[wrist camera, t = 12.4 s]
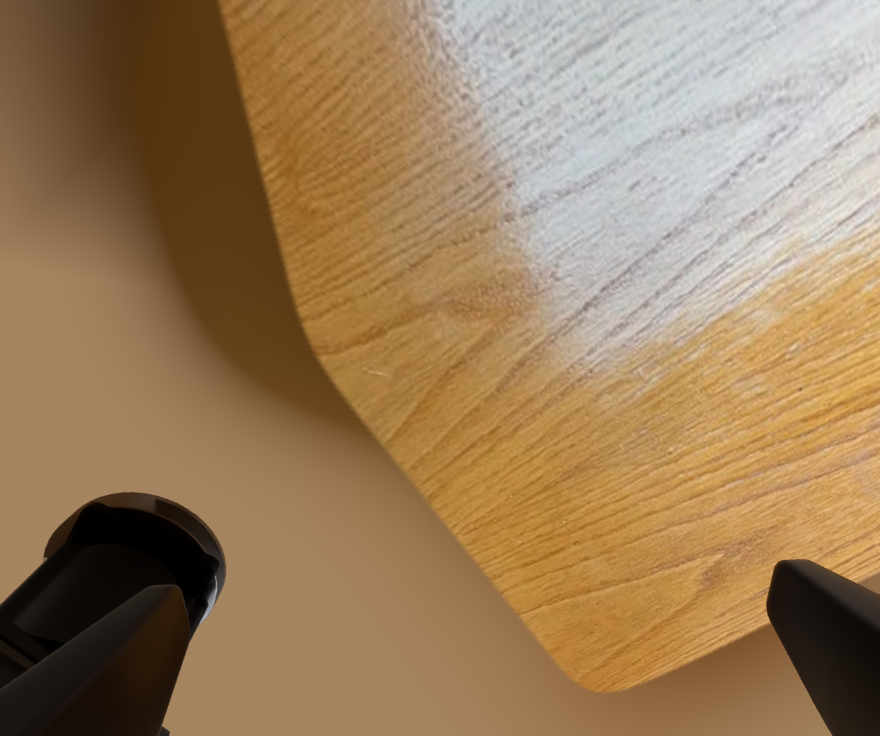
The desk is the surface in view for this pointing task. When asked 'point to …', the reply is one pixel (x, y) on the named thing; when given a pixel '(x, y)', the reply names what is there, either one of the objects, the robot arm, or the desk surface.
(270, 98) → the desk surface
